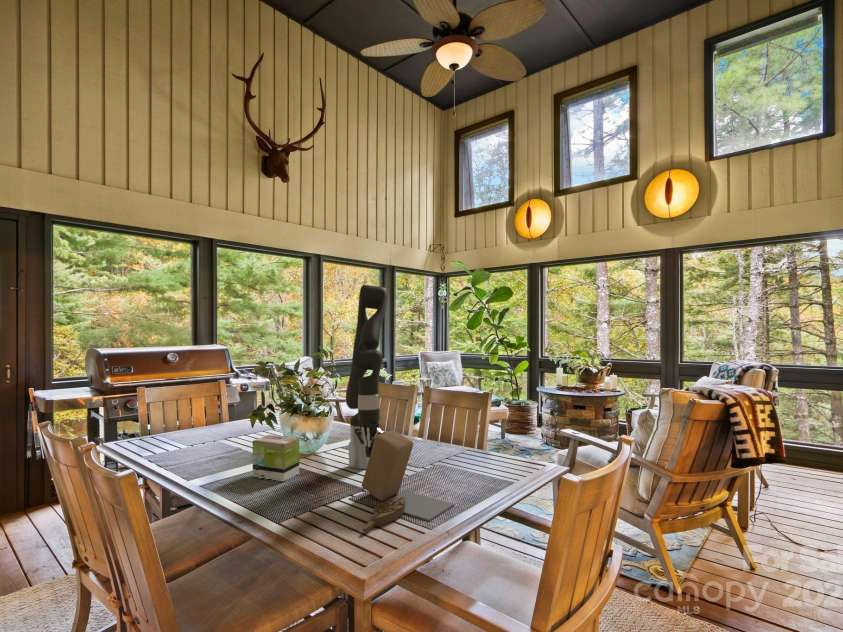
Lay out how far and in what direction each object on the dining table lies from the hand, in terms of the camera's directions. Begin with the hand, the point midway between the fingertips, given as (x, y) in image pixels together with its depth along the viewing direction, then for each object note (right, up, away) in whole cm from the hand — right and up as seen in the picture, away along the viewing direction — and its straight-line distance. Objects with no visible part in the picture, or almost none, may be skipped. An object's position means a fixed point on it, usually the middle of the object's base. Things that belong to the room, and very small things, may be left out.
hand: (369, 456), depth 158 cm
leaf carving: (+7, -12, -21) cm, 25 cm away
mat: (+16, -12, -12) cm, 24 cm away
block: (+4, -11, -2) cm, 12 cm away
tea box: (-39, -14, +18) cm, 45 cm away
